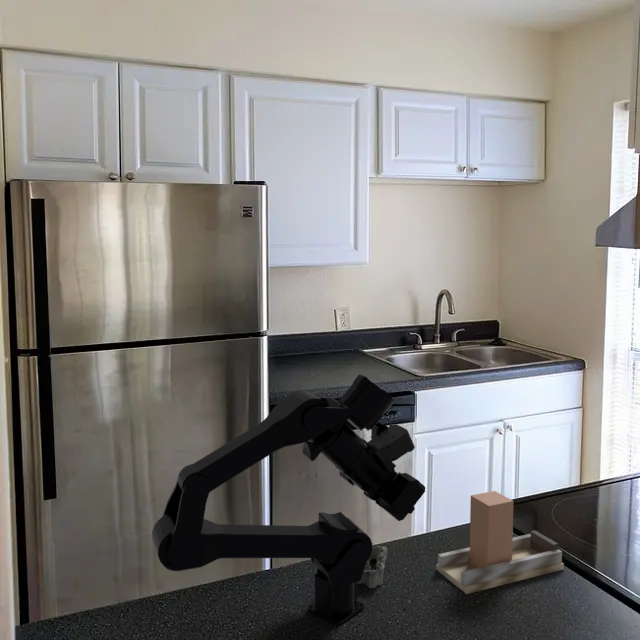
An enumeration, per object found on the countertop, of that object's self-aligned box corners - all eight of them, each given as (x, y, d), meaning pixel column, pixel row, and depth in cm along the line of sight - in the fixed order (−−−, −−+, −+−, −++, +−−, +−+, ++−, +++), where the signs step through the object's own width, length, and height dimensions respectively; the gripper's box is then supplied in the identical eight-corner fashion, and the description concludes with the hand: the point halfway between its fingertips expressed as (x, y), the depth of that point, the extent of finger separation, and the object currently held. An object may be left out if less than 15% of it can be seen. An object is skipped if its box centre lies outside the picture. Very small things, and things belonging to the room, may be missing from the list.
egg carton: (346, 557, 120) (346, 536, 120) (388, 561, 119) (388, 539, 118) (337, 587, 110) (337, 563, 109) (382, 591, 108) (382, 567, 108)
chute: (466, 594, 107) (466, 570, 106) (436, 569, 115) (436, 547, 114) (563, 569, 114) (564, 547, 114) (528, 547, 123) (529, 527, 122)
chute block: (487, 575, 110) (488, 505, 109) (469, 562, 115) (470, 495, 114) (511, 569, 112) (513, 501, 111) (493, 556, 117) (494, 490, 116)
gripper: (413, 427, 94) (477, 490, 99) (355, 398, 111) (412, 454, 116) (364, 489, 92) (432, 550, 97) (312, 451, 109) (372, 505, 114)
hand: (412, 510), depth 106 cm, fingers closed
